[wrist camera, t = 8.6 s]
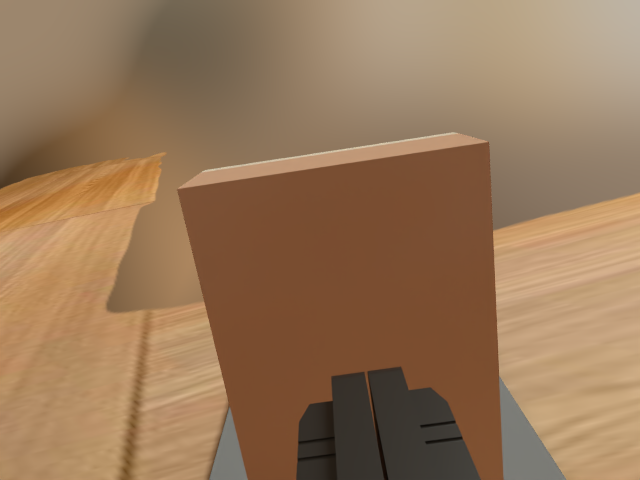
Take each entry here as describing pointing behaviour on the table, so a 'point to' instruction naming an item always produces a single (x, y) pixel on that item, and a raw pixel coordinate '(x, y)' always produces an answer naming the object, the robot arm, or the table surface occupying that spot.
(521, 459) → the mat
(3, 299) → the table surface
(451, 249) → the peach rectangular block
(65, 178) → the table surface
